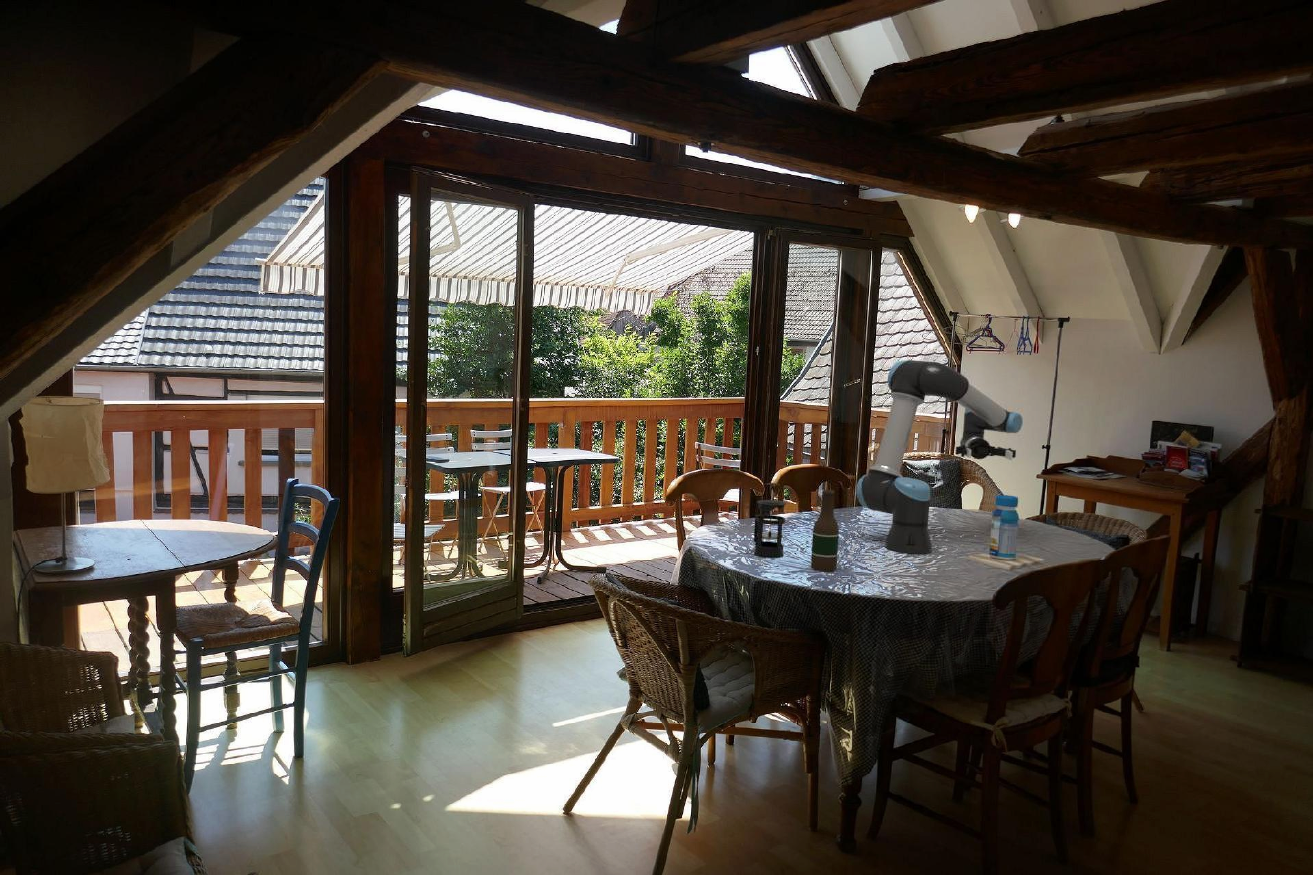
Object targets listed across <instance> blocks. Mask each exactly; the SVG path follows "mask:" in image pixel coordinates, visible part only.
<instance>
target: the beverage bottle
mask: <svg viewBox="0 0 1313 875" xmlns="http://www.w3.org/2000/svg"><path fill="white" fill-rule="evenodd" d="M1018 504H1019V497H1018V496H1015V495H1008V494H997V495H996V497H995V506H996V508H994V511H993V512H992V515H991V517H992V521H991V522H990V540H989V541H990V542H989V550H988V553H989V556H990V557H993V558H996V559H1003V560H1013V559H1015V558H1016V553H1017V544H1018V533H1019V527H1020V526H1019V525H1020V524H1019V523H1018V522H1019V520H1020V516H1019V513H1018V511H1017V509H1016V508H1018Z"/></svg>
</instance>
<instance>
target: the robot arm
mask: <svg viewBox="0 0 1313 875" xmlns="http://www.w3.org/2000/svg"><path fill="white" fill-rule="evenodd" d="M887 386H888V389H889V390H890V394H889V395H890V396H891V398H892V404H891V407H890V410H889V414H888V418H887V421H886V424H885V429H884V431H883V435H882V437H881V438H882V439H881V442H880V446H879V450H878V453H877V457H876V460H875V463H874V465H873V466H872V467H870V468H869V469H868V472H867V474H864V475H863V476H861V477H860V478H859V480H858V482H857V484H856V497H857V499H858V502H859V504H860V505H861V507H863V508H865V509H869V510H871V511H873V512H881V513H885V514H889V515H892V518H891V519H892V520H891V526H890V528H889V531H888V534H887V535H886V539H885V543H884V544H885V546H884V547H885V548H886V549H887V550H890V551H893V552H897V553H904V554H915V555H922V554H924V555H925V554H930V553H931V552H932V547H933V543H932V542H931V541H932V540H931V535H930V532H929V519H930V518H929V516H930V505H931V486H930V485H929V484H928V483H927V482H926V481H923V480H920V479H917V478H911V477H903V476H902V475H901V473H900V471H901V468H902V464H903V460H904V456H905V453H906V450H907V446H908V442H909V440H910V435H911V431H912V428H913V424H914V421H915V418H916V414H917V412H918V411H917V410H918V408H919V406H920V405H922V404H924V401H925V398H926V396H927V397H929V396H930V397H931V396H932V397H938V398H942V399H943V398H944V399H946V400H947V401H949V402H952V403H953V402H956V403H958V404H959V405H960V406H961V407H962V408H964V413H963V429H962V430H963V431H962V436H961V439H960V441H959V446H956V447H955V455H957V456H958V455H960V457H961V458H965V457H967V458H973V459H974V460H983V459H984V460H985V459H986V458H987V457H995V456H996V457H997V456H998V457H1003V458H1005V459H1007V460H1009V461H1013V459H1015V458H1016V456H1017V450H1015V449H1012V448H1011V447H1008V448H1004V447H1000V446H997V447H996V446H993V445H990V443H989V441H988V440H986V439H985V431H991V432H1000V433H1006V434H1016V433H1019V432H1020V431H1021V429H1022V427H1023V417H1022V415H1021V413H1020V412H1019V413H1018V412H1014V411H1009V410H1006V409H1005V408H1004V407H1003V406H1001V405H1000V404H998V403H997V402H996V401H994V400H993V399H991V398H990V397H989V396H987V395H986V394H985V393H983V392H981V391H980V390H979V389H977V388H976V387H974V386H973V385H972V384H970V382H969V380H968V378H967V377H965V376H964V375H963V374H961V373H960V372H958V371H957V370H955V369H953V368H952V367H950V366H948V365H945V364H944V363H941V362H937V361H923V360H912V359H909V360H908V359H907V360H900V361H898V362H895V364H894V365H892V366H891V368H890V369H889V371H888V374H887Z"/></svg>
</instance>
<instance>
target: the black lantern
mask: <svg viewBox="0 0 1313 875" xmlns="http://www.w3.org/2000/svg"><path fill="white" fill-rule="evenodd" d="M765 485H766V486H770V490H771V499H762V500H757V502H756V503H757V504H758V509H759V510H760V511H765V512H770V514H755V516H754V532H753V542H754V543H755V544H754V551H753V555H754V556H756V557H760V558H765V559H766V558H767V559H778V558H779V559H780V558H783V557H784V555H785V554H784V544H782V539H783V538H784V535H783V525H784V524H785V522H786V517H783V516H780V515H773V514H772V513H773V510H776V508H777V509H782V510H785V506H786V505H787V503H786V502H785V501H780V500H775V499H773V497H774V493H773V492H774V489H775V486H776V487H777V486H779V487H780V484H779V483H776V482H768V483H765ZM764 524H765V525H769V530H768V531H767V532H766V531H764ZM772 525H774V526H775V525H777V532H772V530H771V529H772ZM763 540H767V541H763ZM768 540H776V541H768Z"/></svg>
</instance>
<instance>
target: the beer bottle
mask: <svg viewBox="0 0 1313 875" xmlns="http://www.w3.org/2000/svg"><path fill="white" fill-rule="evenodd" d="M821 494H822V497H821V498H822V499H821V507H820V512H819V513H820V514H819V517H818V518H817V519H816V520H815V523H814V525H813V530H812V539H811V540H812V543H811V557H810V558H811V559H810V566H811V569H813V570H815V571H817V572H818V571H819V572H826V573H827V572H834V571H836V569H837V566H838V565H837V564H838V553H839V552H838V550H839V537H840V536H839V535H840V532H839V531H840V530H839V528H840V527H839V524H838V523H839V522H837V520H836V518H835V514H834V512H835V511H834V495H835V490H832V489H823V490H822V492H821Z"/></svg>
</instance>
